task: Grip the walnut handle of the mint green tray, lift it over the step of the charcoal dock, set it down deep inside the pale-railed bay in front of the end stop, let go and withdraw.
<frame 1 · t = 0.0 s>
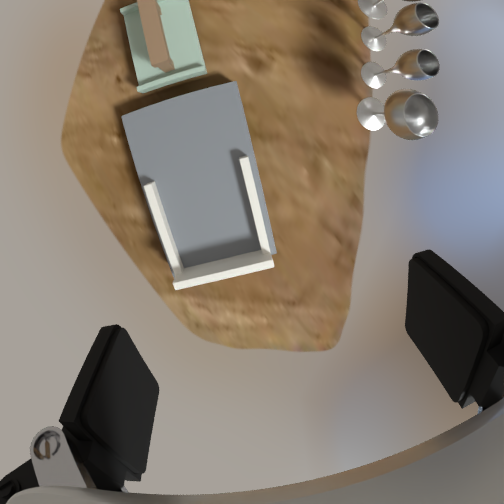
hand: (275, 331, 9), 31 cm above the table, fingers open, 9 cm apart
mint green tray: (166, 43, 30), on the table
goblet set: (373, 40, 31), on the table
dock: (202, 180, 38), on the table
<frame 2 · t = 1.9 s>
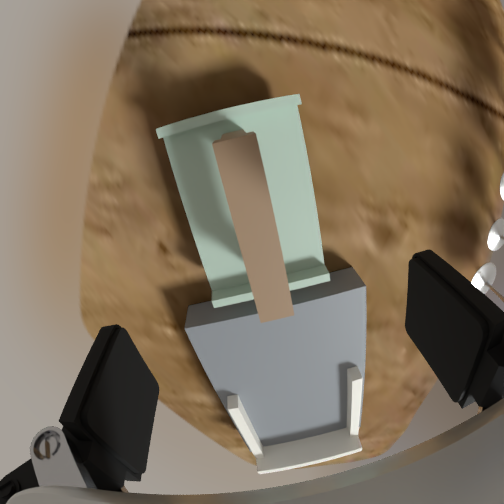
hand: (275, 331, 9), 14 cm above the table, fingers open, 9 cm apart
mint green tray: (248, 192, 21), on the table
dock: (290, 373, 29), on the table
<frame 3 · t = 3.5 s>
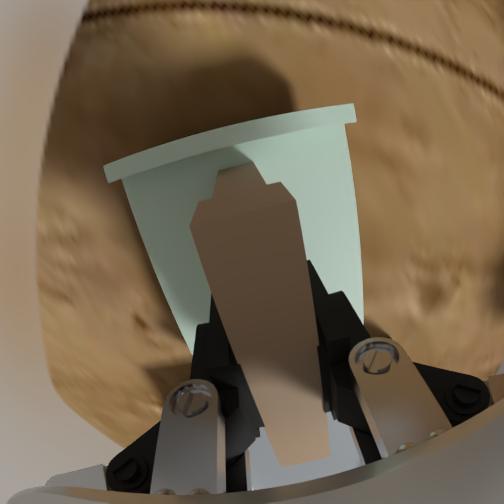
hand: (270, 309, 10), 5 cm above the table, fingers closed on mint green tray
mint green tray: (258, 252, 14), on the table, touching gripper
dock: (304, 444, 22), on the table
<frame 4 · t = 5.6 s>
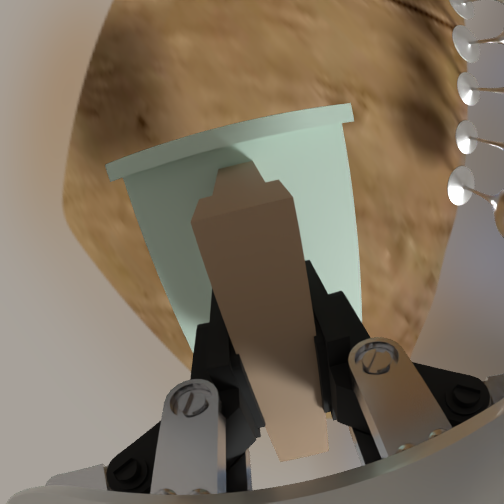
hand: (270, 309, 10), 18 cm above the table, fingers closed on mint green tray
mint green tray: (257, 250, 15), point 13 cm above the table, touching gripper
goblet set: (467, 91, 23), on the table
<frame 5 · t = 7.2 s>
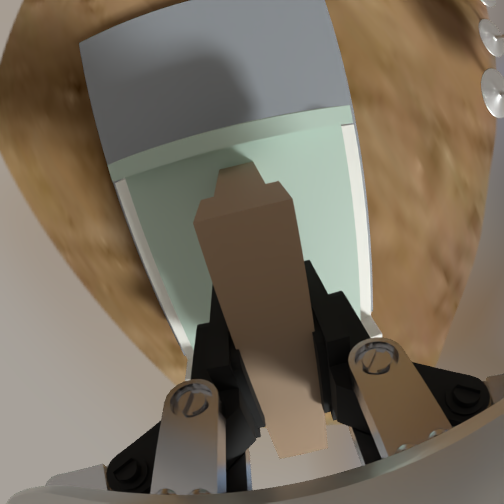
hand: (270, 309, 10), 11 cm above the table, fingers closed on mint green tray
mint green tray: (257, 249, 15), point 6 cm above the table, touching gripper
dock: (239, 172, 19), on the table
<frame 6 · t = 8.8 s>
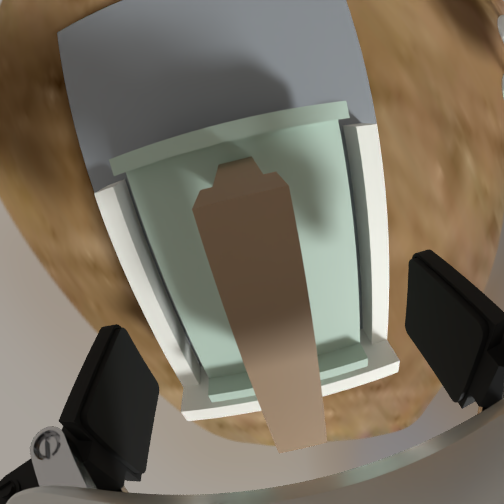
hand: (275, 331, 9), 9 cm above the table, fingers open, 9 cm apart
mint green tray: (257, 245, 15), point 3 cm above the table, touching dock
dock: (240, 177, 16), on the table
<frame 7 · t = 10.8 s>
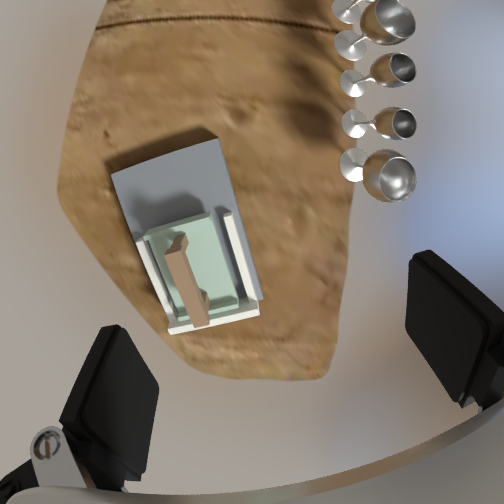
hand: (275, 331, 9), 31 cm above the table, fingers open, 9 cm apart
mint green tray: (195, 259, 39), point 3 cm above the table, touching dock
goblet set: (352, 85, 34), on the table
dock: (191, 232, 40), on the table
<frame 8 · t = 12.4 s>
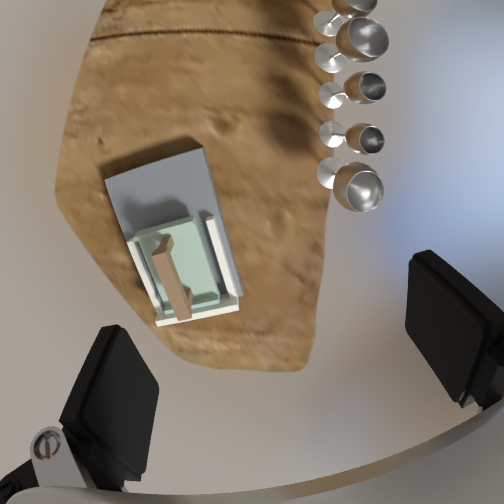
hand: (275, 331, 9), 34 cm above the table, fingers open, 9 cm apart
mint green tray: (181, 258, 42), point 3 cm above the table, touching dock
goblet set: (331, 96, 37), on the table
dock: (178, 232, 44), on the table
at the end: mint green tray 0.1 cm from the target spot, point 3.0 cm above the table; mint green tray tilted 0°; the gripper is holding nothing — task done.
